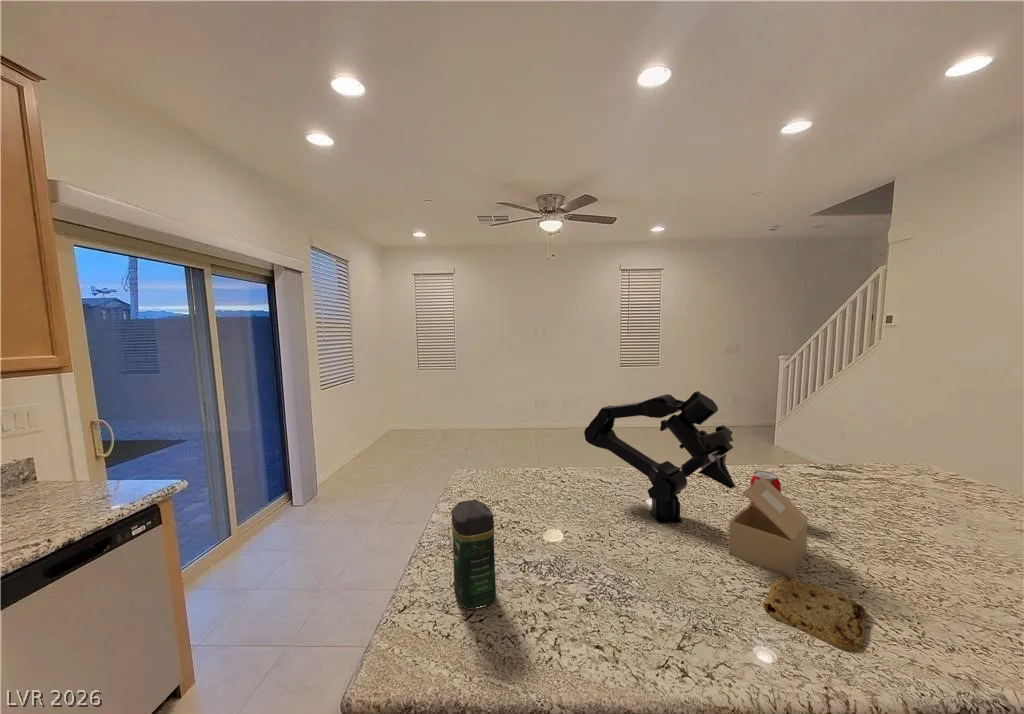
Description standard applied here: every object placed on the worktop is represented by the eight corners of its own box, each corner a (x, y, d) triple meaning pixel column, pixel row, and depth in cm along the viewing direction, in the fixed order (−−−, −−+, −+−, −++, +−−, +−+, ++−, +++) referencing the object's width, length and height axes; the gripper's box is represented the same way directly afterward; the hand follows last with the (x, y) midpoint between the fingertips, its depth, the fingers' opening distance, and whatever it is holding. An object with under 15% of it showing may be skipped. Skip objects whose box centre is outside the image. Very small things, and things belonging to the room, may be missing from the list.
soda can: (785, 524, 104) (786, 480, 103) (756, 522, 106) (756, 478, 105) (773, 511, 111) (774, 470, 110) (745, 510, 112) (746, 469, 112)
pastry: (740, 585, 81) (741, 571, 81) (827, 584, 80) (827, 570, 80) (799, 654, 64) (799, 636, 64) (909, 654, 63) (910, 636, 63)
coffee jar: (501, 604, 77) (498, 512, 75) (462, 616, 74) (458, 520, 73) (486, 576, 86) (483, 493, 84) (450, 585, 83) (447, 500, 82)
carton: (729, 554, 91) (729, 521, 91) (748, 534, 100) (749, 503, 99) (790, 577, 82) (791, 541, 82) (806, 553, 91) (807, 520, 90)
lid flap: (742, 492, 88) (744, 490, 88) (760, 477, 97) (762, 476, 96) (791, 540, 82) (794, 538, 81) (807, 520, 90) (809, 518, 90)
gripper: (694, 423, 92) (745, 481, 85) (725, 410, 105) (772, 460, 97) (662, 449, 99) (707, 505, 91) (695, 434, 111) (737, 483, 104)
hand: (733, 487), depth 96 cm, fingers closed
